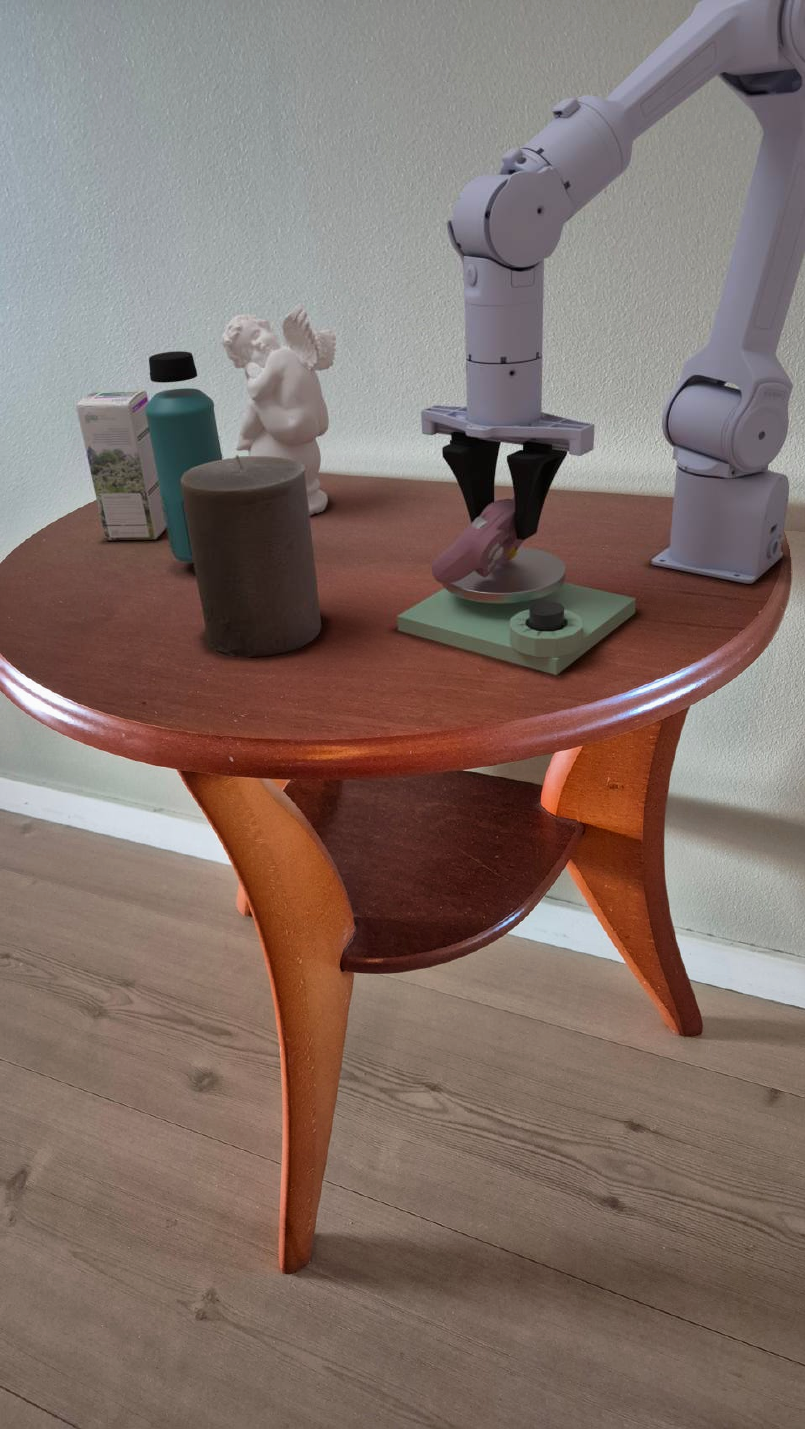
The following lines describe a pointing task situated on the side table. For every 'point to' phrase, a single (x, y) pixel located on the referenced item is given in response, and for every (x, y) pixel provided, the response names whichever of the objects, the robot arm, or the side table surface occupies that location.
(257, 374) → the cherub figurine
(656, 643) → the side table surface
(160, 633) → the side table surface
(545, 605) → the tare button
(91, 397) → the syrup box
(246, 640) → the pillar candle
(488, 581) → the scale pan
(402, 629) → the scale
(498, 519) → the video game controller
